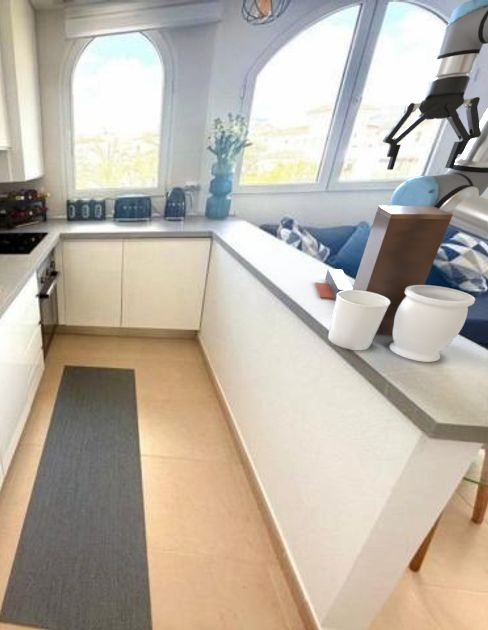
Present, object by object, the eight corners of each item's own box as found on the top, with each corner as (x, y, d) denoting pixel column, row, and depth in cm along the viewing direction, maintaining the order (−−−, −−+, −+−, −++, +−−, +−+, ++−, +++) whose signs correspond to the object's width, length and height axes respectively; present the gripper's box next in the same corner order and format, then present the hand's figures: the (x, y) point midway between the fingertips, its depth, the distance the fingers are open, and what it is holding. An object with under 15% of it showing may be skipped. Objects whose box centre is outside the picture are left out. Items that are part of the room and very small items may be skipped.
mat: (351, 287, 115) (351, 285, 114) (360, 302, 104) (360, 300, 104) (315, 284, 119) (315, 282, 119) (320, 298, 109) (321, 296, 108)
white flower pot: (382, 353, 80) (400, 306, 75) (334, 350, 82) (348, 305, 77) (361, 333, 88) (375, 290, 83) (317, 331, 91) (329, 289, 86)
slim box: (338, 280, 119) (342, 269, 117) (351, 303, 103) (355, 290, 101) (324, 279, 120) (327, 268, 119) (334, 301, 105) (338, 289, 103)
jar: (396, 362, 76) (422, 301, 70) (374, 339, 85) (395, 283, 79) (457, 368, 73) (490, 304, 67) (428, 343, 82) (454, 285, 76)
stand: (389, 318, 94) (432, 205, 81) (402, 337, 85) (453, 214, 72) (344, 313, 98) (378, 205, 85) (352, 331, 90) (391, 213, 77)
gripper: (509, 73, 86) (471, 166, 95) (385, 86, 97) (361, 169, 106) (527, 67, 80) (485, 167, 89) (393, 82, 91) (367, 170, 100)
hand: (418, 168), depth 97 cm, fingers open, 12 cm apart
